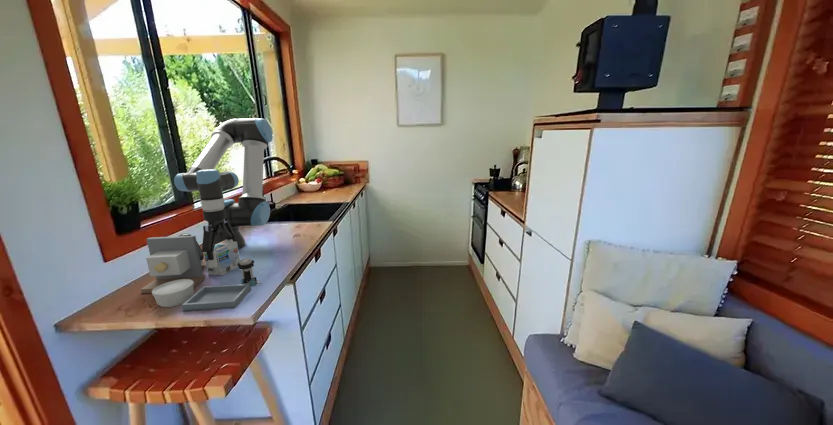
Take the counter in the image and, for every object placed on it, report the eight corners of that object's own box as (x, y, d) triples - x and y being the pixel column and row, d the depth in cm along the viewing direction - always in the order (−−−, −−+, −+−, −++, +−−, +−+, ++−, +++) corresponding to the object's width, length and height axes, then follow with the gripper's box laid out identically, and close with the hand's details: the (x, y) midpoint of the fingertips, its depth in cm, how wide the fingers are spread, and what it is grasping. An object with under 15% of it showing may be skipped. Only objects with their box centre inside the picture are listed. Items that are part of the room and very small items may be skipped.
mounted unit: (161, 280, 119) (151, 237, 115) (205, 277, 121) (196, 235, 116) (140, 293, 109) (128, 246, 105) (188, 290, 111) (178, 244, 106)
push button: (263, 281, 117) (259, 256, 114) (258, 288, 111) (254, 262, 109) (244, 282, 116) (240, 257, 113) (238, 289, 111) (234, 263, 108)
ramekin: (170, 293, 110) (167, 279, 108) (203, 291, 110) (200, 277, 109) (146, 310, 99) (142, 295, 97) (182, 308, 99) (179, 293, 98)
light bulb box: (221, 276, 122) (216, 250, 119) (207, 274, 123) (202, 249, 121) (241, 265, 132) (237, 241, 129) (228, 264, 133) (223, 240, 131)
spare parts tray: (205, 292, 109) (203, 286, 108) (251, 290, 110) (250, 283, 110) (183, 311, 97) (181, 304, 97) (235, 308, 99) (233, 301, 98)
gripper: (220, 203, 133) (228, 250, 138) (183, 217, 109) (194, 273, 114) (238, 202, 134) (246, 249, 139) (205, 216, 110) (216, 272, 114)
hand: (222, 260), depth 126 cm, fingers open, 13 cm apart
